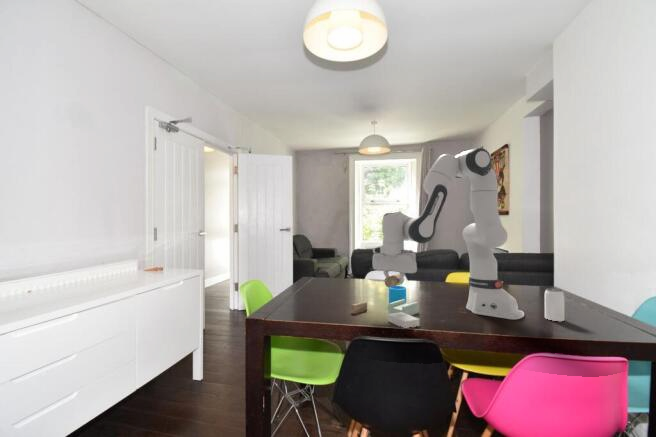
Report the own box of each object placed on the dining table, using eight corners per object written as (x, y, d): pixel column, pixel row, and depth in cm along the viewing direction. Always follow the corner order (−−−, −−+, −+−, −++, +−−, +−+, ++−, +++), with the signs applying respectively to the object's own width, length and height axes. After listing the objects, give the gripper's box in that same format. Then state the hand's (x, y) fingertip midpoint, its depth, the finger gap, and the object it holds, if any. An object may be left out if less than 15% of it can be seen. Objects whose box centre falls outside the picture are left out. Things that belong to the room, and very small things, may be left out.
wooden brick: (366, 310, 138) (367, 302, 138) (355, 313, 132) (355, 305, 132) (363, 309, 139) (363, 301, 139) (351, 312, 133) (351, 304, 133)
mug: (408, 307, 143) (408, 289, 143) (390, 307, 143) (390, 289, 143) (402, 300, 155) (402, 284, 155) (385, 300, 155) (385, 284, 155)
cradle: (418, 312, 134) (418, 302, 134) (404, 318, 126) (404, 307, 126) (402, 308, 140) (402, 298, 140) (388, 314, 132) (388, 303, 132)
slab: (419, 326, 117) (419, 319, 117) (404, 329, 114) (404, 321, 114) (401, 319, 126) (401, 312, 126) (388, 321, 123) (388, 314, 123)
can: (559, 323, 120) (558, 292, 121) (541, 318, 126) (541, 289, 126) (567, 320, 123) (567, 290, 124) (550, 316, 129) (549, 287, 129)
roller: (403, 284, 133) (403, 274, 133) (393, 288, 127) (393, 277, 127) (395, 283, 136) (394, 273, 136) (384, 286, 130) (384, 276, 130)
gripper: (419, 249, 126) (420, 283, 126) (378, 247, 141) (379, 278, 141) (411, 251, 122) (412, 286, 122) (369, 248, 136) (370, 280, 136)
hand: (394, 281), depth 131 cm, fingers closed on roller, 4 cm apart
